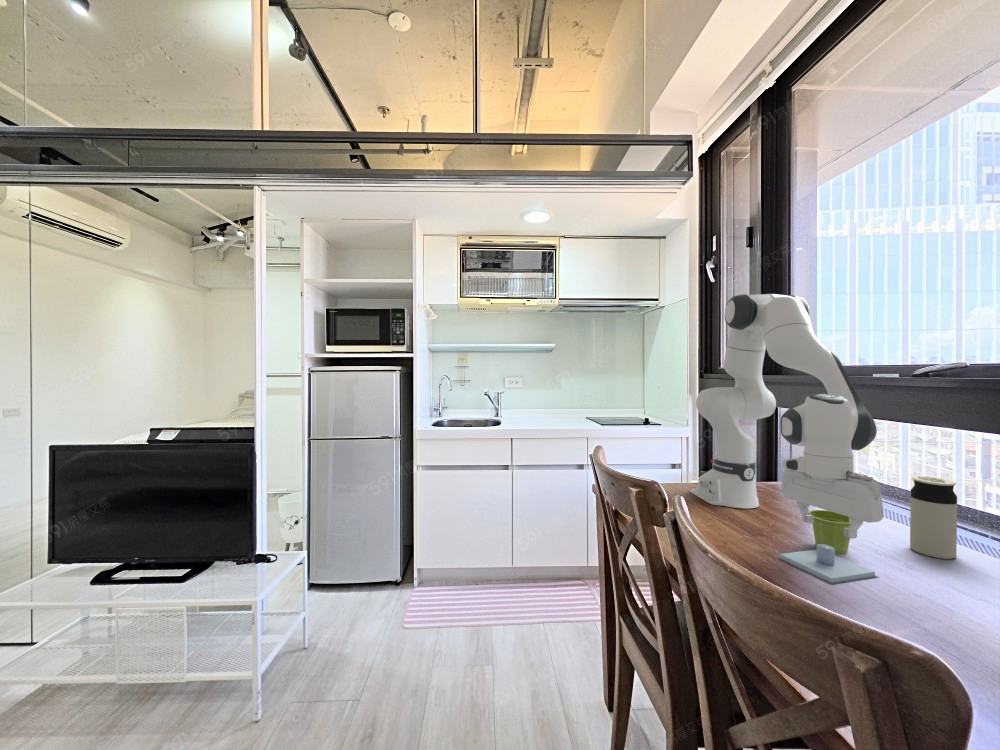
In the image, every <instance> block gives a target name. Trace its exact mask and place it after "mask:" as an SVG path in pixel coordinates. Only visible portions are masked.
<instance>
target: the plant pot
mask: <svg viewBox="0 0 1000 750" xmlns="http://www.w3.org/2000/svg"><path fill="white" fill-rule="evenodd" d="M809 512H810V515H813V516H814V519H813V520H814V522H813V523H812V531H813V535H814V536H813V537H814V543H815V546H816V548H817V544H825V545H829V546H832V547H834V548H835V554H840V555H843V554H847V553H848V550H849V545H850V541H851V538H849V537H846V536H844V528H849V526H850V525H851V523H852V522H849V517H848V516H844V515H841V514H838V513H834V512H831V511H828V510H824V509H811V510H809Z"/></svg>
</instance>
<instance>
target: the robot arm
mask: <svg viewBox="0 0 1000 750" xmlns="http://www.w3.org/2000/svg"><path fill="white" fill-rule="evenodd" d="M724 321H725V323H726V325H727V326H728V327H729V328H731V329H730V331H729V335H728V337H727V338H728V339H727V343H726V349H725V355H724V361H723V368H724V370H725V372H726V374H728V375H729V376H731V377H733V378H734V381H735V383H734V386H729V387H721V386H718V387H716V386H715V387H712V388H711V387H709V388H706V389H703V390H701V391H700V392H699V393H698V395H697V397H696V400H695V405H696V406H695V407H696V410H697V412H698V413H699V414H700V416H702V418H704V419H705V420H706V421H707V422H708V423H709V425H710V426H711V427H712V430H713V432H714V435H715V442H716V443H715V445H716V458H715V459H710V463H711V464H713V466H712V468H711V469H710V470H708V471H706V472H705V473H703V474H702V475H700V476H699V478H698V480H697V487H695V488H692V489H690V494H692V495H694V496H696V497H698V498H700V499H701V500H703V501H705V502H706V503H707V504H710V505H712V506H713V505H714V506H722V507H723V506H724V507H728V508H736V509H755V508H758V507H759V506H760V503H759V502H760V501H759V497H758V493H757V483H756V477H755V474H756V468H757V467H756V462H755V441H754V439H753V437H752V436H751V434H749V433H747V432H746V431H743V430H742V428H741V426H740V422H739V420H741V421H745V420H747V421H748V420H750V421H751V420H752V421H753V420H755V421H756V420H761V419H765V418H769V417H771V416H772V415H773V414H774V412H775V411H776V408H777V400H776V398H775V395H774V394H773V393H772V391H771V390H769V388H767V387H766V385H765V382H764V378H763V368H764V367H763V366H764V361H765V360H764V359H765V355H766V351H767V354H768V356H769V357H770V358H771V359H772V360H773V361H774V362H776V363H777V364H778V365H781V366H782V367H785V368H789V369H793V370H796V371H800V372H803V373H806V374H808V375H811V376H812V377H815V378H817V379H818V380H819V381H820V382H821V383H822V384H823V386H824V388H825V389H826V392H827V393H814V394H810V395H808V396H806V398H805V400H804V403H802V404H800V405H797V406H795V407H790V408H788V409H787V410H786V411H784V413H783V414H782V415H781V417H780V424H779V426H780V434H781V436H782V437H783V438H784V439H785V441H787V442H788V443H789V444H790V445H794V446H797V447H804V450H803V456H798V457H794V458H788V459H784V460H783V461H782V467H783V468H784V470H783V471H782V475H781V494H782V495H783V497H784V498H785V499H789V500H791V501H795V502H796V507H797V508H798V510H799V512H800V514H801V521H802V522H803V523H806V524H808V525H810V524H813V522H814V520H813V519H814V516H813V515H810V512H809V511H810V509H809V507H815V508H818V509H820V510H827V511H831V512H834V513H838V514H841V515H844V516H848V517H849V522H852V523H851V525H850V526H849V528H844V536H846V537H849V538H850V539H851V540H853V539H857V538H858V530H859V529H860V528H861V527H862V525H863V524H864V522H865V523H871V524H873V523H879V522H881V521H882V520H883V519H884V505H883V499H882V495H881V494H882V485H881V484H880V482H879V481H877V480H876V479H875V478H874V477H873V476H871V475H867V474H861V473H857V472H854V467H855V466H854V452H853V451H861V450H863V449H864V448H866V447H868V446H869V445H870V444H871V443H872V442H873V441H874V440H875V439H876V437H877V425H876V422H875V420H874V418H873V417H872V415H871V414H870V412H869V411H868V410H867V409H866V407H865V406H864V404H863V402H862V401H861V399H860V397H859V395H858V393H857V391H856V389H855V387H854V385H853V383H852V381H851V379H850V377H849V375H848V373H847V371H846V370H845V367H844V365H843V364H842V362H841V360H840V358H839V356H838V355H837V354H836V353H835V352H834V351H833V350H831V349H830V348H827V347H826V346H825V345H824V344H823V343H822V342H821V341H820V340H819V339H818V337H817V336H816V334H815V332H814V329H813V326H812V321H811V319H810V305H809V304H808V302H807V300H806V299H805V298H804V297H801V296H799V295H792V294H789V295H786V294H777V293H766V294H763V293H761V294H759V293H757V294H738V295H733V296H732V297H731V298H730V299H729V300H728V301H727V302H726V306H725V308H724Z"/></svg>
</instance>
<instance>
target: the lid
mask: <svg viewBox="0 0 1000 750" xmlns="http://www.w3.org/2000/svg"><path fill="white" fill-rule="evenodd" d="M779 557H780V559H782V560H785V561H787V562H789V563H791V564H793V565H795V566H797V567H799V568H801V569H803V570H805V571H807V572H809V573H812V574H814V575H816V576H818V577H820V578H822V579H824V580H826V581H828V582H830V583H836V582H843V581H849V580H855V579H862V578H868V577H875V576H876V571H875V570H872V569H870V568H867V567H864V566H862V565H861V564H858V563H855V562H853V561H850V560H848V559H846V558H842V557H840V556H839V555H836V553H835V548H834V547H832V546H829V545H825V544H817V547H816V549H809V550H801V551H794V552H785V553H780V554H779ZM780 559H779V560H780ZM782 560H781V561H782ZM805 571H804V572H805ZM807 572H806V573H807ZM809 573H808V574H809Z"/></svg>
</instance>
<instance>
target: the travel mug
mask: <svg viewBox="0 0 1000 750" xmlns="http://www.w3.org/2000/svg"><path fill="white" fill-rule="evenodd" d="M911 479H912V480H913V482H914V483H913V484H914V485H913V487H912V488H911V489H910V510H909V511H910V519H909V521H910V525H909V527H910V528H909V530H910V531H909V533H910V534H909V537H910V538H909V547H910V549H911V550H913V551H914V552H916V553H918V554H921V555H923V556H926V557H931V558H935V559H943V560H951V559H955V558H957V548H958V547H957V545H958V544H957V542H958V541H957V538H958V536H957V535H958V533H957V532H958V495H957V494H956V492H955V491H954V487H955V485H957V484H956V483H957V482H955V481H953V480H950V479H945V478H941V477H934V476H926V475H919V476H918V475H917V476H915V475H914V476H912V478H911Z"/></svg>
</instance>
